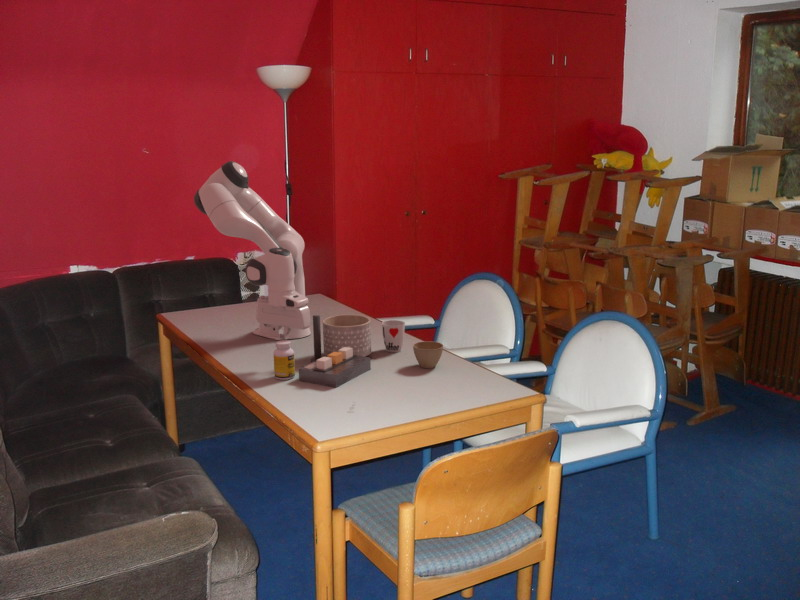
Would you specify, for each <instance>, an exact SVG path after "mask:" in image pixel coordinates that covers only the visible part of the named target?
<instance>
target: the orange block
mask: <svg viewBox="0 0 800 600" xmlns="http://www.w3.org/2000/svg"><path fill="white" fill-rule="evenodd" d="M328 357H329V358H332V364H337V363H340V362H342V361H343V356H342V353H340V352H333V353H331V354H328Z"/></svg>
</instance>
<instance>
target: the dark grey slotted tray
mask: <svg viewBox="0 0 800 600" xmlns="http://www.w3.org/2000/svg"><path fill="white" fill-rule="evenodd" d="M324 357H328V355H327V356H325V355H324ZM371 369H372V368H371V357H370V356H369V357H368V356H366V357H364V356H357V355H353V356H352V357H350V358H348V359H343V361H342V362H340V363H337V364H332V366H331V367H329V368H327V369H325V370H323V369H318V368H317V363H316V361H314V362H312V363H311V362H310V363H308V364H305V365H302V366H301V367H299V368H298V381H300V382H304V383H305V382H306V383H309V384H314V385H319V386H327V387H330V388H331V387H332V388H338V387H340V386H342V385H344V384H346V383H348V382H349V381H351V380H353V379H356V378H357V377H358V376H361V375H363V374H365V373H367V372H368V371H370V370H371Z"/></svg>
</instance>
